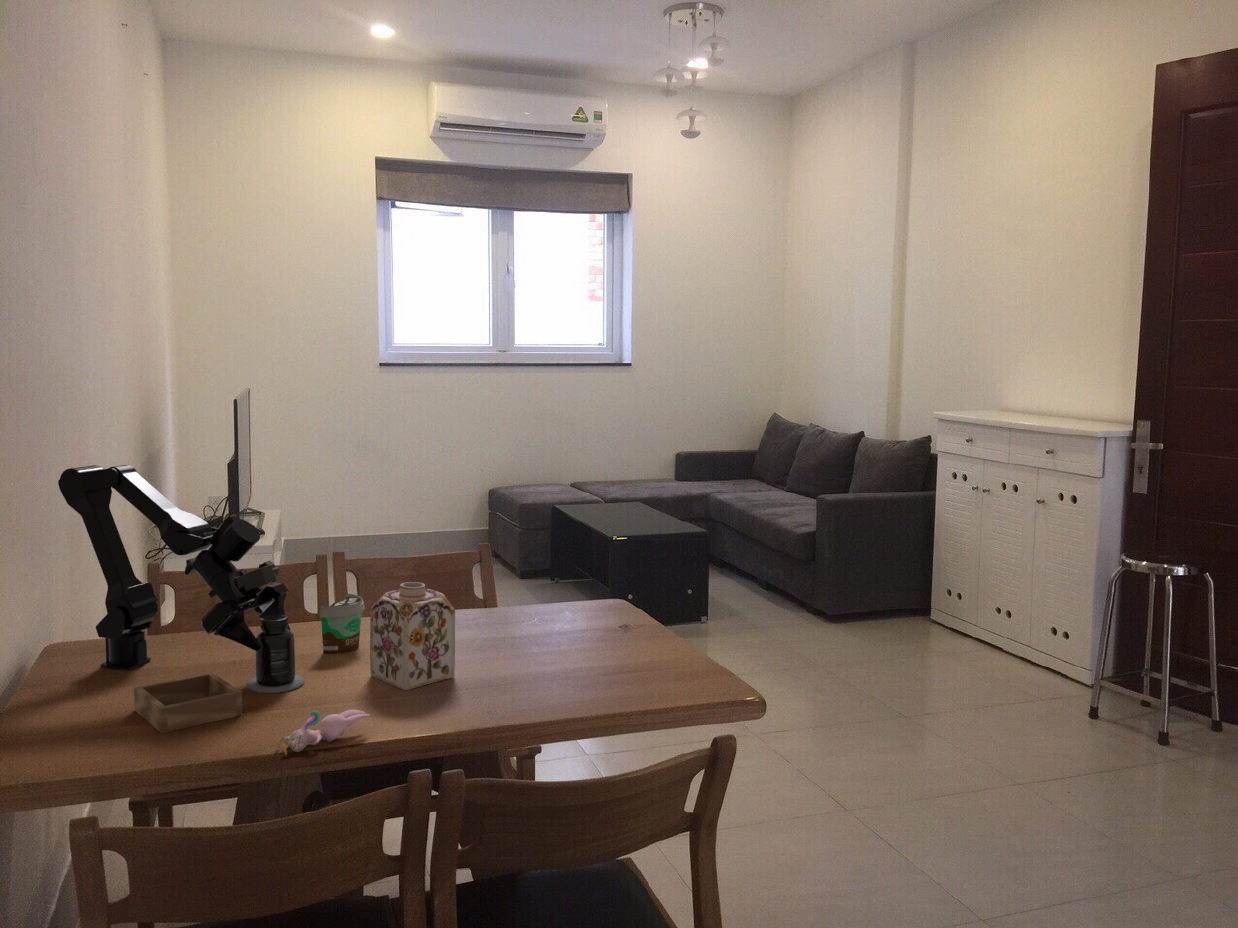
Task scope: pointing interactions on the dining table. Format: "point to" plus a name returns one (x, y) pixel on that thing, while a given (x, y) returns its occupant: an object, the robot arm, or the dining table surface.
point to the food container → (342, 625)
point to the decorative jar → (412, 637)
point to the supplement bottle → (275, 652)
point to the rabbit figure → (321, 729)
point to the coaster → (255, 687)
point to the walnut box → (187, 702)
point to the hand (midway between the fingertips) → (274, 642)
